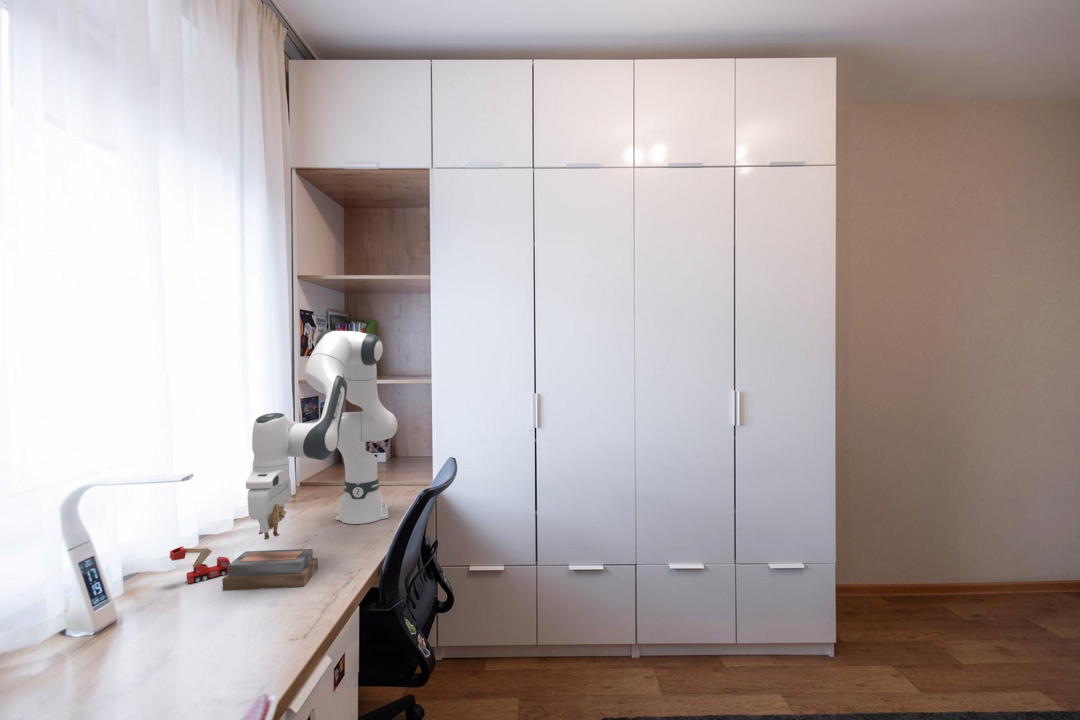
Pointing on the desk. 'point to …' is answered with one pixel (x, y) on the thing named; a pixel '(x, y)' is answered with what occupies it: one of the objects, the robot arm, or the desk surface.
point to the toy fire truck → (201, 569)
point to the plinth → (271, 580)
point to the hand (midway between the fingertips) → (272, 526)
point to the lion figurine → (274, 520)
